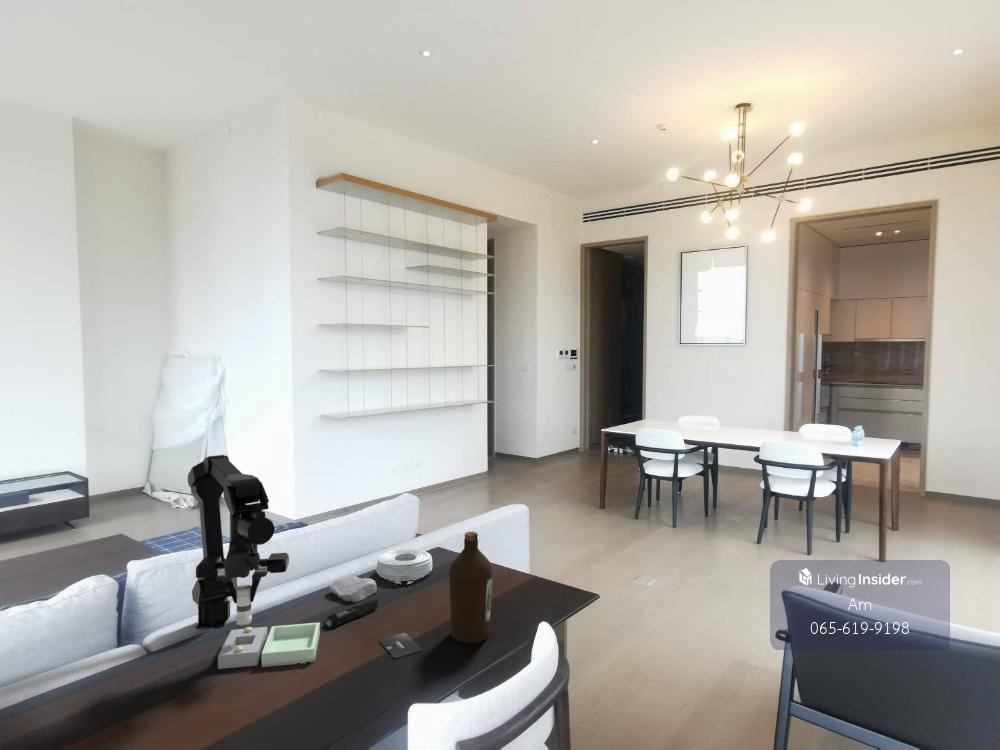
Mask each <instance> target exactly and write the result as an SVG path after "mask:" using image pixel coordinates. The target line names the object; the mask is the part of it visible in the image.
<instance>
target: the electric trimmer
mask: <svg viewBox="0 0 1000 750" xmlns="http://www.w3.org/2000/svg"><path fill="white" fill-rule="evenodd" d="M378 606H379V600H378V598H375V599H372V600H369V601H366V602H362V603H361V604H357V605H354V606H352V607H350V608H347V609H344V610H342V611H339V612H336V613H335V612H333V613H331V614H330V615H328V616H327V617H326V618H325V620H324V623H323V627H325V626H326V627H328V628H329V629H328V628H327V629H328V630H334V629H336V627H337V626H339V625H341V624H344V623H346V622H348V621H350V620H354V619H355V617H359V618H362V617H364V616H366V615H367V614H369V613H370V612H371V613H372V612H373V611H374V610H376V609H377V608H378ZM326 627H325V628H326ZM333 628H334V629H333Z"/></svg>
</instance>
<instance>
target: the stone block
mask: <svg viewBox="0 0 1000 750" xmlns="http://www.w3.org/2000/svg"><path fill="white" fill-rule="evenodd" d="M377 587H378V586H377V582H376V580H373V579H372V578H371V577H370V578H367V577H364V578H360V577H358V576H356V575H355V574H350V575H349V576H345V577H341V578H338V579H335V581H333V582H332V583H330V586H329V591H330V592H331V593H332V594H333V595H334V596H336V595H337V596H336V597H337V598H339V599H340V598H341V600H342V599H343V600H342V601H344V600H345V601H353V602H352V603H354V602H356V601H360V600H362V599H364V598H366V597H367V596H369V595H372V594H373V595H375V594H374V593H375V592H376V593H377V589H378V588H377ZM373 595H372V596H373ZM366 599H367V598H366ZM345 601H344V602H345ZM360 602H361V601H360ZM356 603H357V602H356Z"/></svg>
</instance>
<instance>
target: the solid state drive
mask: <svg viewBox="0 0 1000 750" xmlns="http://www.w3.org/2000/svg"><path fill="white" fill-rule="evenodd" d="M379 642H380V643H381V644H380V643H379ZM378 643H379V644H380V645H381V646H382V648H383V649H385V651H386V652H387V651H388V652H389V653H390V654H391V655H390V654H389V653H388V652H387V653H388V654H389V655H390V656H391V657H392V659H394V660H397V659H401V658H404V657H407V656H412V655H415V654H418V653H422V652H423V648H422V647H421V646H420V645H419V644H417V642H415V641H414V640H413V639H412V638H411V637H410V636H409V635H408V634H407V633H406V632H403V633H399V634H395V635H391V636H388V637H385V638H381V639H378Z"/></svg>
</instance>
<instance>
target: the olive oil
mask: <svg viewBox="0 0 1000 750" xmlns="http://www.w3.org/2000/svg"><path fill="white" fill-rule="evenodd" d="M478 537H479V535H478V532H476V531H467V532H465V533H464V540H463V543H464V544H463V545H464V546H463V549H462V550H461V552H460V553H459V554H458V555H456V556H455V557H454V559H453V560H452V562H451V564H450V568H449V570H448V582H449V604H450V605H449V606H450V635H451V637H452V639H453V640H454V641H456V642H458V643H462V644H478V643H481V642H483V641H486V640H487V639H488V638H489V637H490V631H491V630H490V628H491V627H490V626H491V609H492V605H491V604H492V591H493V590H492V589H493V567H492V564H491V562H490V560H489V559H488V558H487V557H486V555H485V554H483V553H482V551H481V550H480V549H479V539H478Z"/></svg>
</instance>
